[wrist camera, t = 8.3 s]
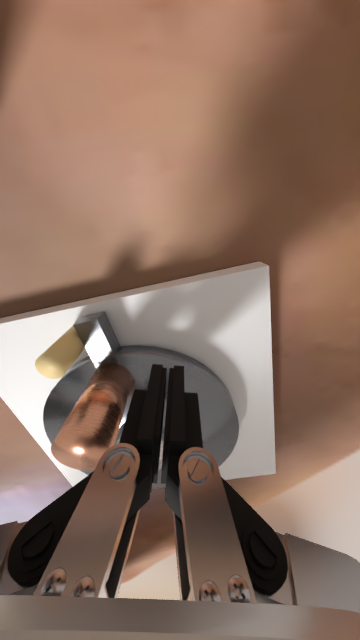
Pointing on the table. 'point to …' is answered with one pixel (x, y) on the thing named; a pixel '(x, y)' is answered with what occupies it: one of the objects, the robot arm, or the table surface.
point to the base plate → (165, 332)
